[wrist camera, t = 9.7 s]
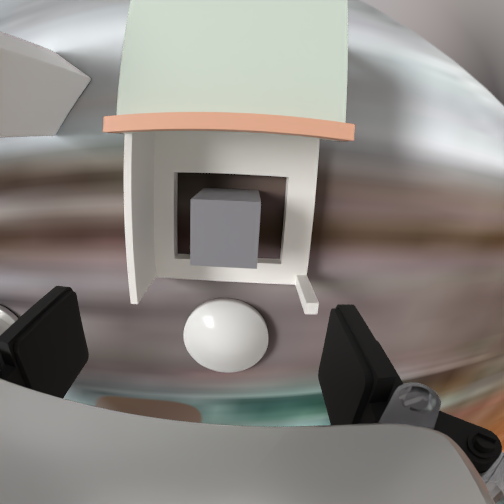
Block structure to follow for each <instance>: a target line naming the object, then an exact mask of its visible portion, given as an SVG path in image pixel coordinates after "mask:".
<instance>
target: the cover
mask: <svg viewBox="0 0 504 504" xmlns="http://www.w3.org/2000/svg"><path fill="white" fill-rule="evenodd" d="M347 73H348V9H347V0H131V1H130V7H129V12H128V18H127V23H126V30H125V36H124V43H123V50H122V58H121V67H120V76H119V86H118V98H117V113H116V115H113V116H104V119H103V132H108V133H120V134H128V133H153V132H222V133H247V134H264V135H278V136H291V137H301V138H311V139H320V140H329V141H337V142H341V141H354V132H355V124H350V123H345V122H346V102H347Z"/></svg>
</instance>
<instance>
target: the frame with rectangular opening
mask: <svg viewBox="0 0 504 504" xmlns="http://www.w3.org/2000/svg"><path fill="white" fill-rule="evenodd" d="M319 144H320V139H311V138H301V137H291V136H278V135H264V134H247V133H222V132H153V133H128V134H125V138H124V217H125V239H126V255H127V268H128V280H129V290H130V300H131V304H138V303H139V302H140V300H141V299H142V297H143V296H144V294H145V293H146V291H147V290H148V288H149V287H150V285H151V284H152V282H153V281H154V279H155V278H156V277H163V278H178V279H194V280H211V281H229V282H248V283H270V284H294V285H296V288H297V291H298V294H299V297H300V301H301V304H302V307H303V310H304V313H305V314H317V312H318V306H319V302H318V300H317V298H316V295H315V293H314V291H313V288H312V286H311V284H310V282H309V279H308V277H307V269H308V261H309V252H310V244H311V234H312V225H313V215H314V205H315V194H316V183H317V171H318V158H319ZM178 172H189V173H223V174H246V175H263V176H279V177H287V179H286V193H285V206H284V219H283V231H282V243H281V254H280V259H274V258H258V259H257V269H250V268H230V267H211V266H193V265H190V254H178V247H177V195H178Z"/></svg>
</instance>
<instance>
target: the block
mask: <svg viewBox="0 0 504 504" xmlns="http://www.w3.org/2000/svg"><path fill="white" fill-rule="evenodd" d="M260 213H261V199H260V195H259V191H258V190H246V189H225V188H203V189H202V190H201V191H200V192H198V193H197V194H196V195H195V196H194V197H193V198H191V209H190V265H193V266H211V267H230V268H250V269H257V259H258V244H259V228H260Z"/></svg>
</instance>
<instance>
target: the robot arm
mask: <svg viewBox="0 0 504 504" xmlns="http://www.w3.org/2000/svg"><path fill="white" fill-rule="evenodd" d="M87 360H88V348H87V344H86V340H85V336H84V331H83V326H82V322H81V317H80V312H79V306H78V301H77V296H76V293H75V292H73V290H72V289H71V288H70V287H63V286H56V287H55V288H53V289H52V290H51V291H50V292H49V293H47V294H46V295H45V296H44V297H43V298H42V299H40V300H39V301H38V302H37V303H36V304H35V305H33V306H32V307H31V308H30V309H29V310H28V311H27V312H25V313H24V314H23V315H22V316H21V317H20V318H19V319H18V317H16V316H15V315H14V314H13V313H12V312H11V311H9V310H8V309H7V308H5V307H3V306H1V305H0V504H504V453H503V452H502V446H501V442H500V440H499V439H498V437H497V436H496V435H495V434H494V433H493V432H491V431H489V430H487V429H485V428H482V427H479V426H477V425H474V424H472V423H469V422H466V421H464V420H461V419H459V418H456V417H454V416H451V415H449V414H446V413H444V412H441V411H439V410H440V406H441V401H440V398H439V396H438V394H437V393H436V392H435V391H434V390H433V389H431V388H430V387H428V386H425V385H423V384H419V383H406V384H403V382H402V381H401V379H400V377H399V375H398V374H397V372H396V370H395V369H394V367H393V365H392V364H391V362H390V360H389V359H388V357H387V355H386V353H385V352H384V350H383V349H382V347H381V345H380V344H379V342H378V341H376V339H375V338H374V336H373V334H372V333H371V331H370V330H369V328H368V326H367V325H366V323H365V321H364V320H363V318H362V317H361V315H360V313H359V312H358V310H357V308H356V307H355V306H354V305H337V307H336V309H331V312H330V317H329V323H328V328H327V333H326V338H325V343H324V348H323V353H322V357H321V362H320V367H319V373H318V377H319V382H320V386H321V390H322V393H323V397H324V400H325V404H326V408H327V412H328V415H329V419H330V423H331V425H327V426H296V427H261V426H234V425H218V424H205V423H194V422H184V421H175V420H168V419H160V418H153V417H147V416H140V415H134V414H129V413H123V412H118V411H113V410H108V409H104V408H99V407H95V406H90V405H86V404H82V403H78V402H74V401H70V400H67V399H63V398H64V396H65V394H66V393H67V391H68V390H69V388H70V387H71V385H72V383H73V382H74V380H75V379H76V377H77V376H78V374H79V373H80V371H81V370H82V368H83V367H84V365H85V363H86V362H87Z"/></svg>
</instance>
